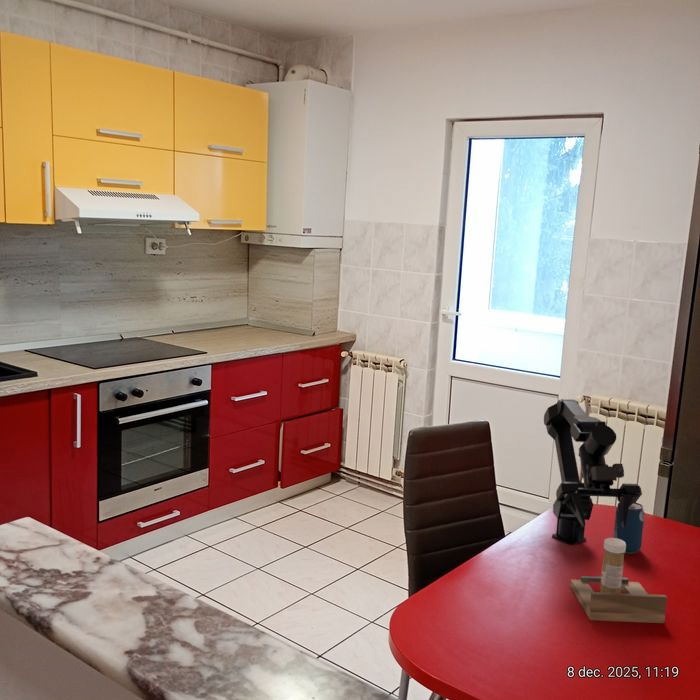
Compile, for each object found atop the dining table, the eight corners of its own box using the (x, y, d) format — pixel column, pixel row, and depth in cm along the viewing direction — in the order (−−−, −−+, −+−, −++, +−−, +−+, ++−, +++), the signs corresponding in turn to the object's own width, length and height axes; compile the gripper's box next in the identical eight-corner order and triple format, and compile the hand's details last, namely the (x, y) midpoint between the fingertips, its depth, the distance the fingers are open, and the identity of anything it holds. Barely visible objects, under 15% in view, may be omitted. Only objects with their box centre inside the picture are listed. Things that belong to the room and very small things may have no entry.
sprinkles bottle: (601, 591, 172) (606, 535, 170) (622, 596, 170) (627, 539, 167) (597, 599, 168) (602, 542, 166) (618, 605, 166) (624, 547, 163)
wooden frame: (570, 586, 173) (572, 562, 172) (637, 589, 173) (640, 565, 172) (590, 620, 159) (592, 594, 158) (664, 623, 159) (667, 597, 158)
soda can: (646, 551, 195) (651, 507, 193) (628, 556, 191) (633, 511, 189) (624, 541, 201) (628, 498, 199) (606, 546, 197) (610, 502, 195)
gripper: (563, 448, 177) (572, 511, 168) (643, 451, 177) (656, 514, 168) (552, 470, 186) (560, 530, 177) (628, 472, 186) (640, 533, 177)
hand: (604, 526), depth 174 cm, fingers open, 9 cm apart
